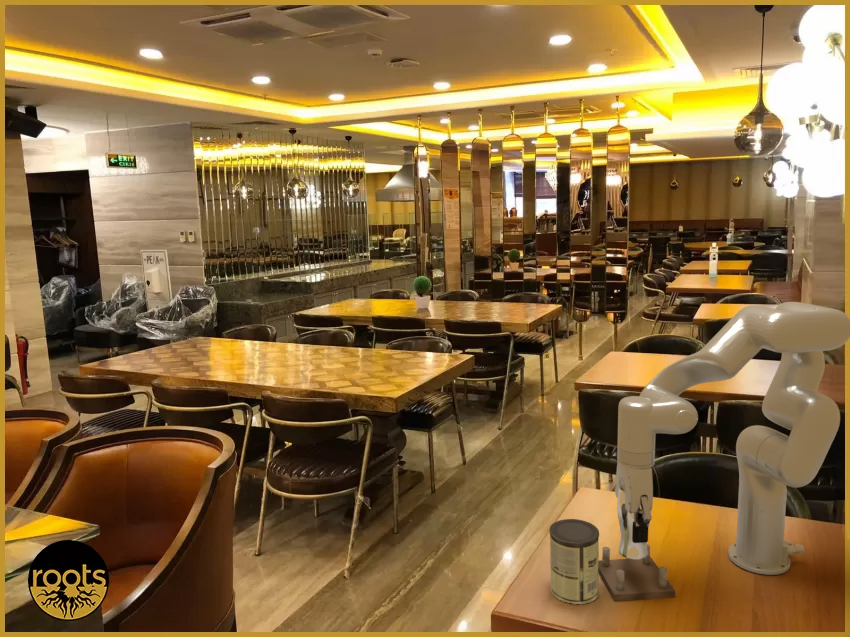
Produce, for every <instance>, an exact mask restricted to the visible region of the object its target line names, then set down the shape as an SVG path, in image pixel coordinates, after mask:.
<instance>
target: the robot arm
mask: <svg viewBox="0 0 850 637" xmlns="http://www.w3.org/2000/svg"><path fill="white" fill-rule="evenodd" d="M849 339H850V317H849V316H848V315H847V314H846V313H845V312H843V311H842V310H840V309H835V308H831V307H827V306H821V305H815V304H811V303H806V302H799V301H785V302H782V303H780V304H778V305H777V306H776V308H772V307H768V306H761V305H747V306H744V307H743V308H741V309H740V310H739V311H737V313H736V314H734V316H733V317H731V318H730V319H729V320H728V322H727V323H726V324H725V325H723V326H722V328H721V329H720V330H719V331H718V332H717V333H716V334H715V335H714V336H712V338H711V339H710V340H708V342H707V343H706V344H705V345H704V346H703V347H702V348H701V349H700V350H698V351H696V352H695V353H694V352H693V353H692V354H690V355H687V356H685V357H683V358H681V359H679V360H676V361H675V362H673V363H671V364H669V365H667V366H666V367H664V368H663V369H662V370H661V371H659V373H657V374H656V375H655V376H654V377H653V378H652V379H651V380H650V381H649V382H648V383H647V385H646V386H645V387H644V388H643V389H642V390H641V392H640V394H639V396H638V395H631V396H625V397H623V398H621V399H620V401H619V403H618V410H617V415H618V416H617V456H616V459H617V460H616V462H617V465H616V472H615V488H614V494H615V496H616V498H617V499H618V491H619V486H620V488H621V489H622V490H623V491H624V492H625V509H626V510H627V511H628V512H629V513H634V524H633V527H632V541H633V543H645V542H646V543H648V542H649V527H648V526H650V522H651V521H652V518H653V516H652V510H653V504H654V502H653V501H654V492H653V491H654V484H653V468H652V467H653V466H655V461H656V460H655V457H656V456H655V455H656V435H657V434H666V435H667V434H668V435H681V434H686V433H688V432H691V431H692V430H693V429H694V428H695V426H696V425H697V424H698V420H699V414H698V411H697V409H696V407H695V406H694V405H693V404H692V403H691V402H689V401H688V400H687V399H684V398H682V397H680V395H681V394H682V393H684V392H685V391H686V390H688V389H690V388H692V387H694V386H697V385H700V384H701V385H702V384H706V383H713V382H714V383H716V382H722V381H727V380H731V379H733V378H735V377H736V375H738V374H739V373H740V372H741V370H742V369H743V368H745V366H746V365H747V364H748V363H749V362H750V361H751V360H752V359H753V358H754V357H755V356H756V355H757V354H758V353H759V352H760V351H761V350H763V349H765V350H768V351H772V352H775V353H780V354H781V357H780V358H781V359H780V362H779V364H778V367H777V369H776V371H775V374H774V376H773V378H772V380H771V382H770V384H769V387H768V389H767V391H766V393H765V395H764V398H763V401H762V404H761V411H762V414H763V415H764V417H766V418H767V419H768V420H769V421H771V422H773V423H774V424H776V425H778V426H781V427H782V428H785V429H787V430H790V434H789V435H787V434H784V433H782V432H781V431H779V430H776V429H774V428H771V427H769V426H765V425H758V424H755V425H750V426H748V427H746V428H745V429H743V430H742V431H741V432H740V433H739V435H738V437H737V440H736V443H735V444H736V445H735V452H736V459H737V465H738V473H739V474H738V476H739V478H738V484H739V485H738V499H737V502H738V503H737V516H736V536H735V537H736V539H735V540H736V541H735V543H732V544H731V545H730V546H729V547H728V552H727V555H728V558H729V559H730V561H731V562H732V563H733V564H735V565H736V566H738V567H739V568H741V569H743V570H746V571H748V572H750V573H754V574H757V575H758V574H759V575H768V576H776V575H782V574H784V573H786V572H788V571H789V569H790V567H791V560H790V556H791V555H792V554H795V555H798V554H799V555H800V554H801V555H802V554H805V547H804V546H803V545H802V544H793V543H792V541H791V540H785V526H786V525H785V524H786V513H787V512H786V509H787V508H786V507H787V496H788V490H787V486H788V487H790V488H802V487H805V486H806V485H809V484H810V483H811V482H812V481H813V480H814V479H815V478H816V476H817V474H818V473H819V470H820V469H821V467H822V465H823V463H824V461H825V459H826V456H827V454H828V452H829V450H830V448H831V447H832V446H831V445H832V444H833V441H834V440H835V437H836V435H837V432H838V431H839V427H840V424H841V423H840V422H841V412H840V409H839V406H838V404H837V403H836V402H835V400H833V398H830V397H828V396H827V395H825V394H823V393H820V392H818V388H819V385H820V383H821V380H822V379H823V375H824V373H825V367H826V361H825V360H826V359H825V355H824V352H827V351H832V350H833V351H834V350H835V349H838V348H841V347H842V346H843V345H845V344H846V343H848V340H849ZM640 505H641V508H642V510H641V511H637V510H638V508H639V506H640ZM638 514H643V516H642V517H640V518H639V519H638Z"/></svg>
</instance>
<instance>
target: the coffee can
mask: <svg viewBox="0 0 850 637" xmlns="http://www.w3.org/2000/svg"><path fill="white" fill-rule="evenodd" d="M548 531H549V548H550V550H549V551H550V553H549V554H550V555H549V556H550V557H549V558H550V562H549V563H550V592H551V594H552V595H553V597H554V598H556V599H557V598H558V599H557V600H559V601H560V600H562V601H561V602H563V603H565V602H567V603H566V604H569V603H572V604H571V605H576V604H580V605H587V603H588V604H589V603H592V602H594V601H595V600H597V598H598V597H599V594H600V592H599V573H598V561H599V537H600V530H599V528H598V527H597V526H595V524H593V523H592V522H589V521H586V520H583V519H577V518H564V519H561V520H557V521H554V523H552V524H551V525H550V526H549V530H548Z"/></svg>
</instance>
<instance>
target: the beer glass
mask: <svg viewBox="0 0 850 637" xmlns="http://www.w3.org/2000/svg"><path fill="white" fill-rule="evenodd" d="M616 504H617V508H616V509H617V519H618V524H619V525H618V526H619V530H620V540H619V545H618V553H619V555H620V556H622V557H623V558H624V559H631V560H642V559H645V558H646V557H647V556H648V550H647V545H648V543H647V542H645V543H633V541H632V527H633V524H634V513H629V512H628V511H627V510H626V509H625V492H624V491H623V490H622V489H621V488H620V486H619V491H618V498H617V502H616ZM641 510H642V508H641V505H640V506H639V508H638V510H637V511H641ZM642 516H643V514H638V519H639V518H640V517H642ZM649 526H650V525H649ZM649 526H648V528H649Z"/></svg>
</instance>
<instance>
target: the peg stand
mask: <svg viewBox="0 0 850 637" xmlns="http://www.w3.org/2000/svg"><path fill="white" fill-rule="evenodd" d="M647 550H648V556H647V557H646V558H645V559H642V560H631V559H627V558H620V559H611V548H610V547H608V546H603V547H602V552H601V553H602V555H601V556H602V557H601V558H602V559H601V560H598V576H599V577H600V576H601V577H600V579H601V580H602V581H603V583H604V586H605V585H606V586H605V588H606V589H607V591H608V593H609V595H610V596H611V598H612V601H613V602H623V601H624V602H626V601H639V600H640V599H641V601H642V600H653V599H657V600H658V599H669V598H676V590H675V588H674V586H673V585H672V584H671V582H670V581H669V580H668V568H667V567H665V566H660V567H659V566H658V565H657V564H656V562H655V560H653V558H652V557H651V545H649V544H647Z"/></svg>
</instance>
